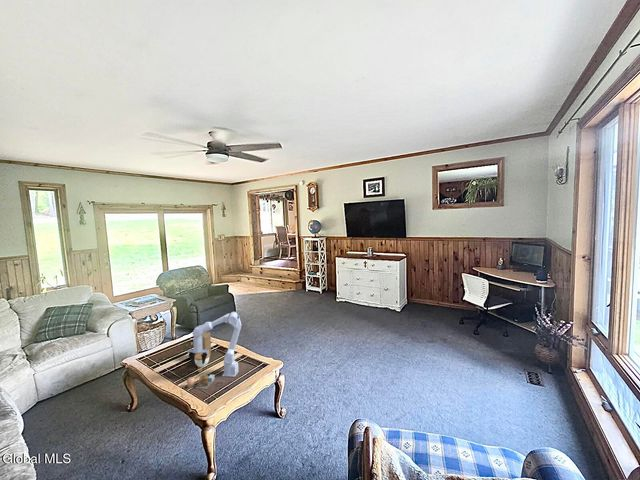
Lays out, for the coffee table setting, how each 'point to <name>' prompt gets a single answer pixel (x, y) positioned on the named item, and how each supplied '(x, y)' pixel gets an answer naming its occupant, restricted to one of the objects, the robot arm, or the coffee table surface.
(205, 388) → the slate coaster
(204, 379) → the walnut block
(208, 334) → the wooden block
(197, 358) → the lidded jar
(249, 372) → the coffee table surface
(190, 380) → the tan rounded cylinder
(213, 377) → the blue plastic box
